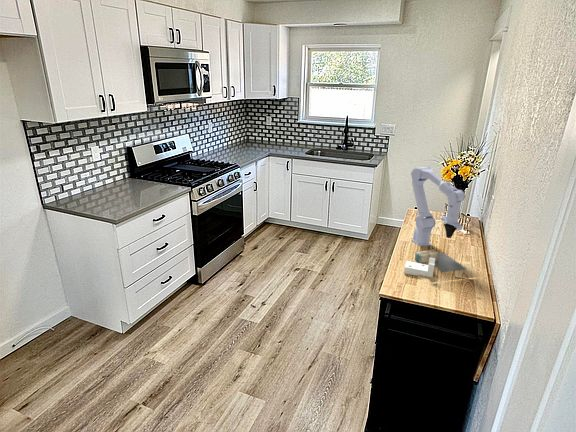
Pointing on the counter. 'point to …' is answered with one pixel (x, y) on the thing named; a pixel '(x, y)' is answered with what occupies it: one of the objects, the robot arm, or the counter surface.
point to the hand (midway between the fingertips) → (448, 237)
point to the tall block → (426, 255)
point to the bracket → (420, 268)
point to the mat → (447, 263)
